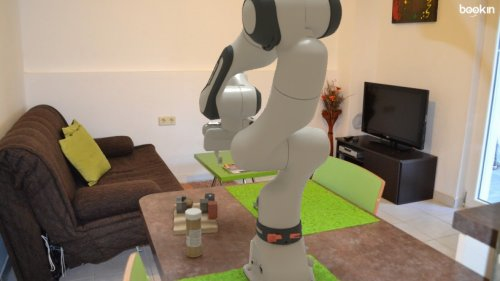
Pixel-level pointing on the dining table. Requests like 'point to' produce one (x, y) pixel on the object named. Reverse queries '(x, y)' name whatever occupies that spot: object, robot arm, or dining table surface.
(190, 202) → the brown ball
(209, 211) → the lever
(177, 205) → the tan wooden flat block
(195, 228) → the sprinkles bottle
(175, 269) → the dining table surface
